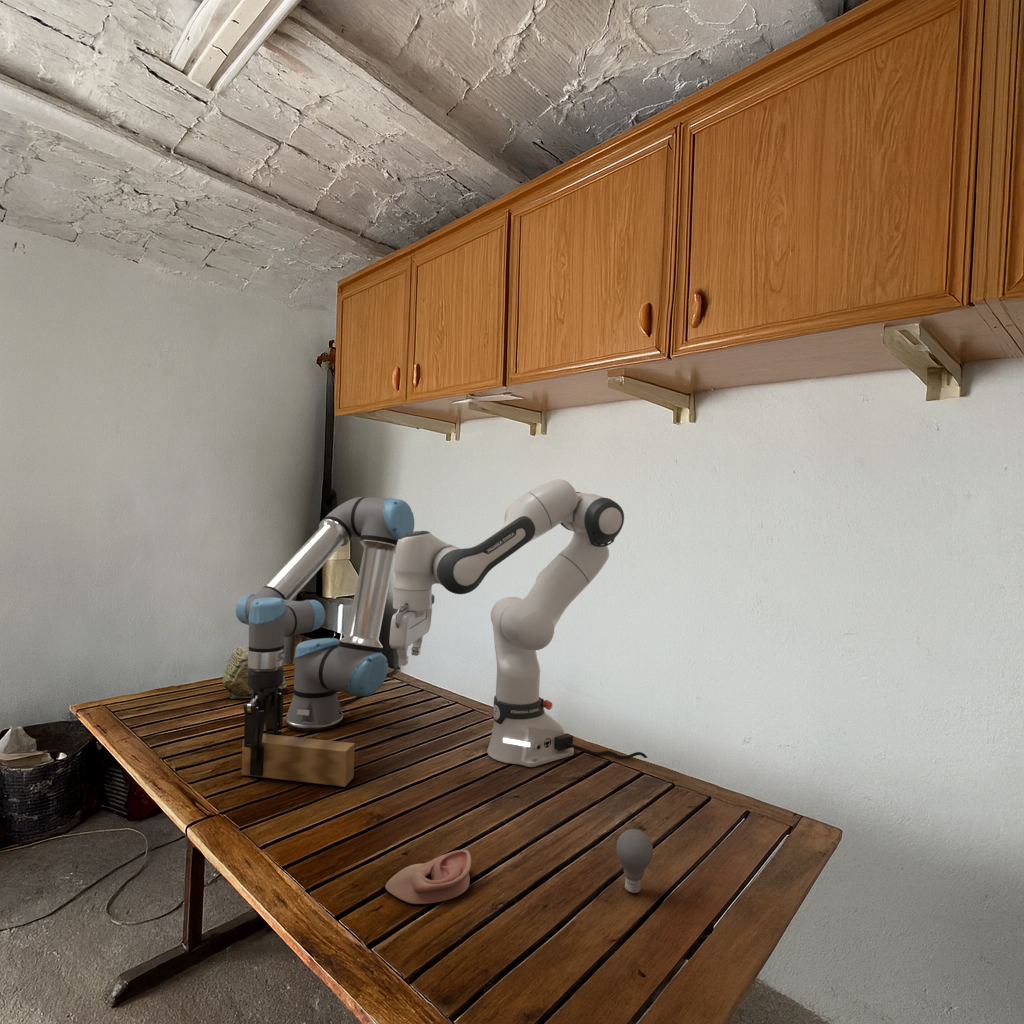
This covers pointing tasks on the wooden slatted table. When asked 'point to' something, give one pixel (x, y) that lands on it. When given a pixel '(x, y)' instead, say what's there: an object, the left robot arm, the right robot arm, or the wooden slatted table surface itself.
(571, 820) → the wooden slatted table surface
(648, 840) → the light bulb
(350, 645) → the left robot arm
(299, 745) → the bar
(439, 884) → the anatomical model
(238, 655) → the fossil
